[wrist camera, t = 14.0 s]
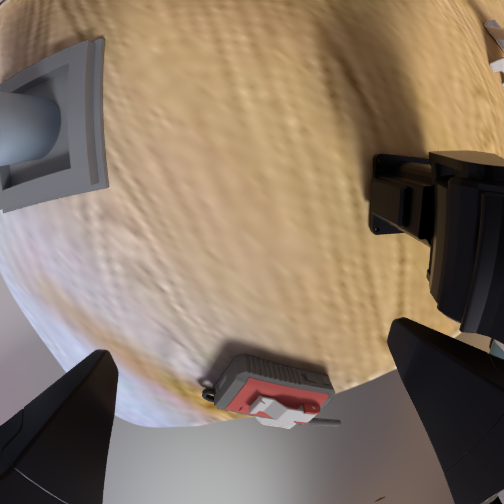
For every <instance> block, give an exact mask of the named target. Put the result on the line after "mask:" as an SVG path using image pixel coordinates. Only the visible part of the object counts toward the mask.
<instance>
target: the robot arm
mask: <svg viewBox="0 0 504 504" xmlns="http://www.w3.org/2000/svg"><path fill="white" fill-rule="evenodd" d="M379 157H380V158H381V162H380V163H379V162H378V159H379ZM428 164H429V165H428ZM370 211H371V222H370V230H371V232H372V233H374V234H375V235H381V234H395V233H406V234H408V235H410V236H412V237H413V238H415V239H417V240H418V241H420V242H422V243H424V244H425V245H427V246H429V247H430V248H431V249H430V261H429V269H428V270H427V279H428V281H429V286H430V293H431V294H432V296H433V298H434V299H435V301H436V302H437V309H438V310H439V311H440V312H442V313H443V314H444V315H445V316H447V317H448V318H450V319H452V320H454V321H456V322H458V323H461V325H460V329H459V330H460V331H461V332H467V333H478V334H481V335H485V336H488V337H490V338H493V339H495V340H497V341H499V342H500V343H502V344H504V159H503V158H501V157H499V156H497V155H496V154H491V153H484V152H477V151H434V152H429V159H424V158H416V157H408V156H398V155H388V154H376V155H374V157H373V179H372V181H371V204H370ZM376 226H378V228H377V230H375V227H376ZM387 343H388V347H389V349H390V352H391V354H392V357H393V359H394V362H395V364H396V367H397V369H398V372H399V375H400V377H401V379H402V382H403V384H404V386H405V388H406V390H407V392H408V394H409V396H410V398H411V400H412V402H413V404H414V406H415V408H416V410H417V412H418V414H419V417H420V419H421V421H422V423H423V425H424V427H425V430H426V432H427V434H428V436H429V439H430V441H431V443H432V445H433V448H434V450H435V452H436V455H437V457H438V460H439V462H440V465H441V467H442V470H443V472H444V475H445V478H446V481H447V483H448V486H449V489H450V492H451V494H452V497H453V500H454V503H455V504H482V503H483V502H485V501H487V500H488V499H490V498H491V497H493V496H495V495H496V494H497V495H496V496H495V497H494V498H493V499H492V500H491V501H489V502H488V503H487V504H504V359H501V358H499V357H496V356H494V355H492V354H488V353H487V352H485V351H482V350H480V349H478V348H475V347H473V346H470V345H468V344H466V343H464V342H461V341H459V340H457V339H454V338H452V337H450V336H447V335H445V334H443V333H440V332H438V331H436V330H433V329H431V328H429V327H426V326H424V325H422V324H419V323H417V322H415V321H412V320H410V319H408V318H405V317H401V318H398V319H395V320H393V322H392V324H391V328H390V331H389V335H388V339H387ZM117 383H118V369H117V366H116V364H115V362H114V360H113V358H112V356H111V354H110V352H109V351H108V350H101V349H98V350H95V351H94V352H92V353H91V354H90V355H89V356H87V357H86V358H85V359H84V360H82V361H81V362H80V363H78V364H77V365H76V366H75V367H73V368H72V369H71V370H70V371H68V372H67V373H66V374H65V375H63V376H62V377H61V378H60V379H58V380H57V381H56V382H55V383H54V384H52V385H51V386H50V387H49V388H47V389H46V390H45V391H43V392H42V393H41V394H40V395H39V396H38V397H36V398H35V399H34V400H32V401H31V402H30V403H29V404H27V405H26V406H25V407H24V409H21V410H20V411H19V412H18V413H17V414H15V415H14V416H13V417H12V418H10V419H9V420H8V421H6V422H5V423H4V424H2V425H1V426H0V504H102V503H103V490H104V480H105V471H106V464H107V456H108V449H109V443H110V437H111V431H112V426H113V420H114V414H115V404H116V393H117Z"/></svg>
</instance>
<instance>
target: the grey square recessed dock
mask: <svg viewBox="0 0 504 504" xmlns="http://www.w3.org/2000/svg"><path fill="white" fill-rule="evenodd" d="M104 46H105V40H104V39H103V38H100V39H97V40H94V41H90V40H85V41H83V42H80V43H78V44H75V45H73V46H70V47H68V48H66V49H63V50H61V51H59V52H57V53H55V54H53V55H50V56H48V57H46V58H44V59H42V60H40V61H39V62H37V63H35V64H33V65H31V66H29V67H28V68H26V69H24V70H22V71H21V72H19V73H17V74H16V75H14V76H12V77H11V78H9V79H8V80H6V81H4V82H3V83H1V84H0V92H8V93H16V94H23V95H29V96H36V97H41V98H47V99H51V100H53V101H54V102H55V103H56V104H57V106H58V108H59V111H60V115H61V127H60V132H59V136H58V138H57V141H56V143H55V145H54V147H53V148H52V150H51V151H50V152H49V153H48V154H47V155H46V156H45V157H43V158H41V159H38V160H32V161H26V162H20V163H15V164H10V165H5V166H0V210H1V209H3V213H6V212H10V211H13V210H16V209H20V208H23V207H27V206H31V205H34V204H38V203H42V202H46V201H50V200H54V199H58V198H62V197H67V196H71V195H76V194H80V193H85V192H90V191H95V190H100V189H105V188H108V187H109V181H108V173H107V164H106V153H105V141H104V124H103V62H104Z"/></svg>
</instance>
